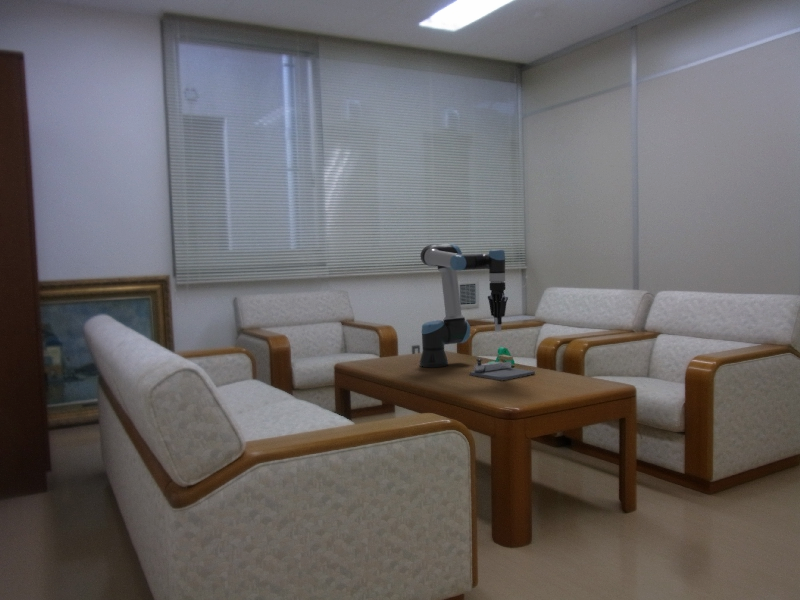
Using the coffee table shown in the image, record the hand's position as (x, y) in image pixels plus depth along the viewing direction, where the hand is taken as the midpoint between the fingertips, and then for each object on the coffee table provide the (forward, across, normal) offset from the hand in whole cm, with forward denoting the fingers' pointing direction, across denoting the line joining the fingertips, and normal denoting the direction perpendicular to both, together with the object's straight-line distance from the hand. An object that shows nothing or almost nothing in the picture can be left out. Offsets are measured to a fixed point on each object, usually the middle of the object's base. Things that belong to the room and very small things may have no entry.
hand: (498, 330), depth 318 cm
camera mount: (+22, +16, -14) cm, 31 cm away
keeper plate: (+21, -3, 0) cm, 21 cm away
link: (+19, +4, +1) cm, 20 cm away
